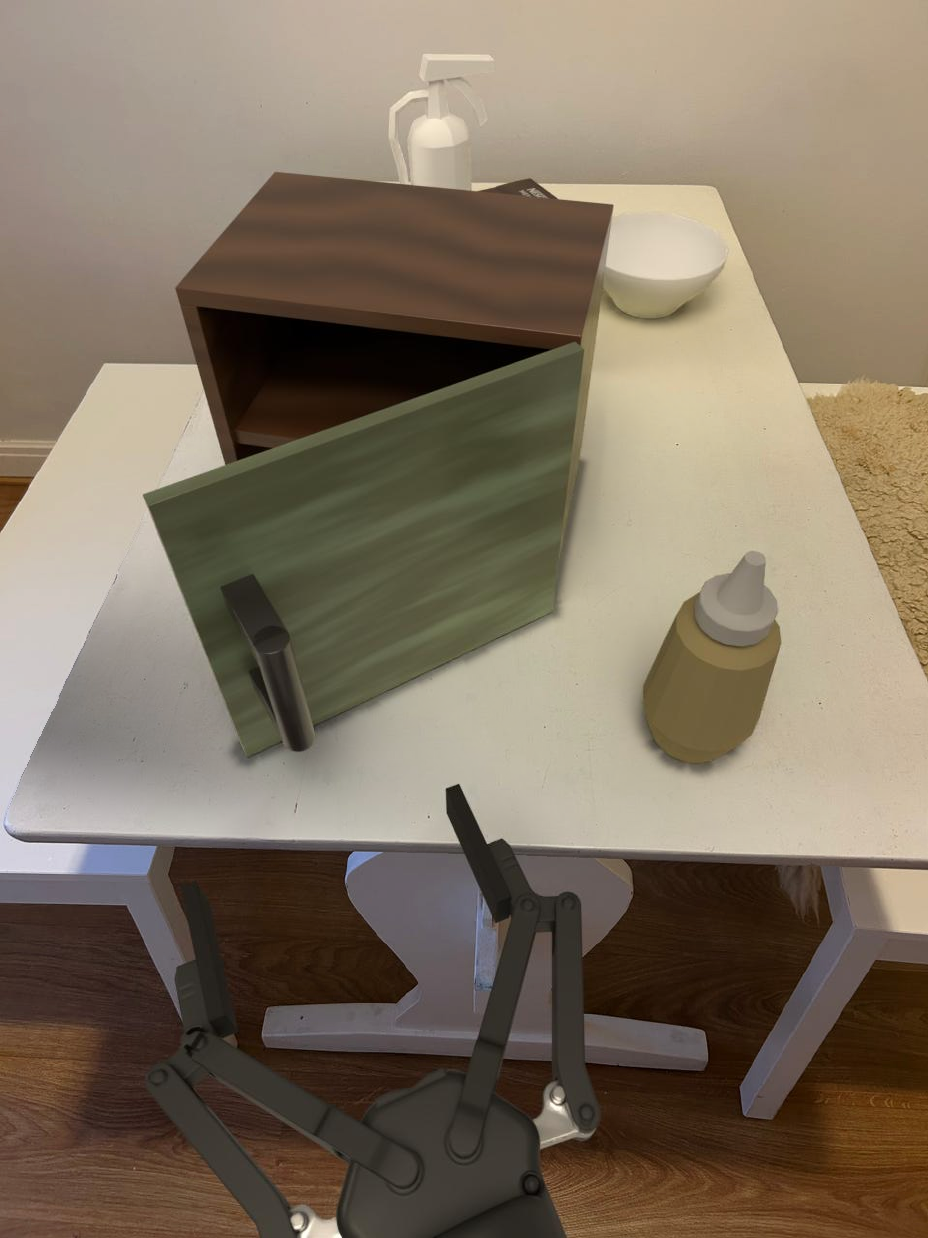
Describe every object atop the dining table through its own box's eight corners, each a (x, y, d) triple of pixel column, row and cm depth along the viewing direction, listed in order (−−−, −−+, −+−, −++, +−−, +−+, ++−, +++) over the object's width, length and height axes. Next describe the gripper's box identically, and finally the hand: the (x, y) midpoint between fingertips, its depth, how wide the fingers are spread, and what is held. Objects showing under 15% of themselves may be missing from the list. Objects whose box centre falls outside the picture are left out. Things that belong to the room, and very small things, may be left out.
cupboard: (550, 602, 69) (582, 335, 50) (249, 552, 73) (174, 287, 54) (579, 463, 80) (613, 203, 61) (317, 426, 84) (274, 171, 65)
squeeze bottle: (737, 793, 58) (822, 629, 44) (622, 758, 60) (670, 589, 46) (753, 702, 63) (835, 528, 49) (646, 672, 64) (696, 496, 51)
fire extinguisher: (383, 292, 100) (364, 50, 81) (481, 280, 102) (484, 40, 83) (393, 322, 96) (376, 74, 77) (495, 308, 98) (502, 63, 79)
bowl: (693, 352, 92) (707, 292, 87) (558, 319, 97) (563, 260, 91) (729, 285, 101) (744, 227, 96) (604, 257, 106) (611, 200, 100)
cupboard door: (597, 662, 65) (649, 401, 46) (280, 825, 56) (189, 583, 38) (545, 603, 69) (575, 341, 50) (241, 747, 60) (142, 493, 42)
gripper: (176, 1535, 30) (101, 966, 42) (762, 1205, 36) (543, 796, 49) (108, 1583, 24) (44, 909, 37) (818, 1181, 30) (554, 724, 43)
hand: (328, 844), depth 43 cm, fingers open, 13 cm apart
